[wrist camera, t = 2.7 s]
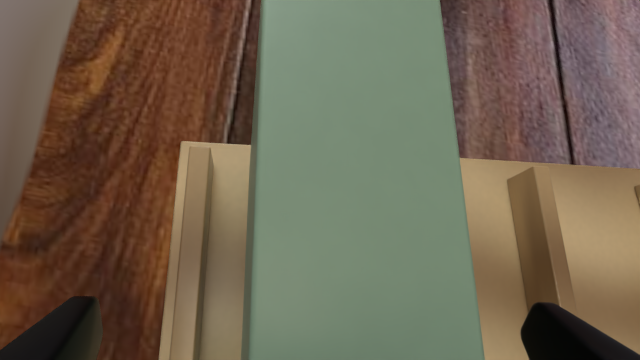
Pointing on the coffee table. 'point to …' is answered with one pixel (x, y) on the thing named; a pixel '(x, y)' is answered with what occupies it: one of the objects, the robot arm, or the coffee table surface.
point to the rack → (485, 239)
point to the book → (356, 189)
